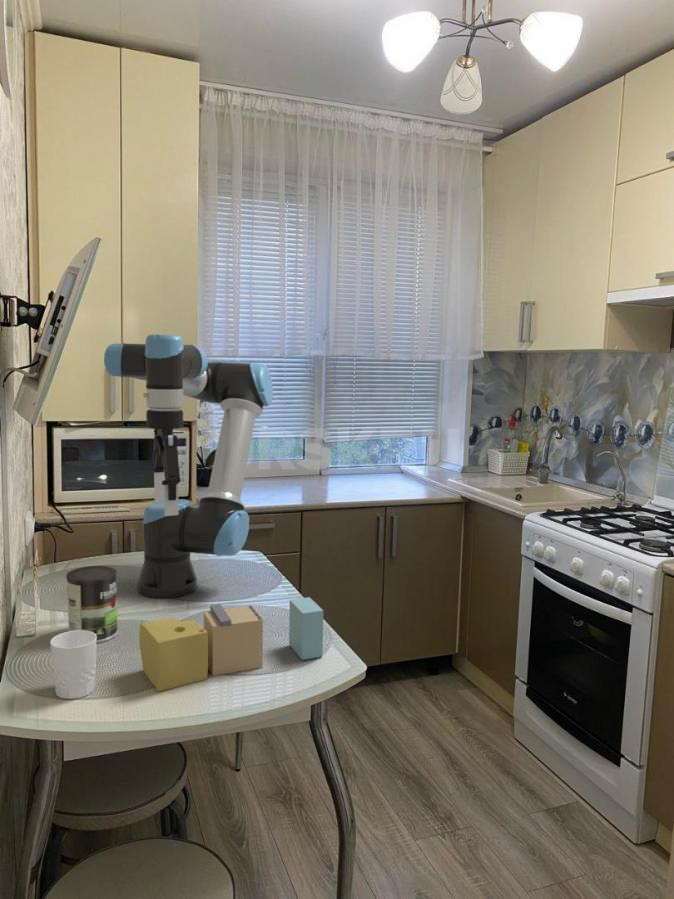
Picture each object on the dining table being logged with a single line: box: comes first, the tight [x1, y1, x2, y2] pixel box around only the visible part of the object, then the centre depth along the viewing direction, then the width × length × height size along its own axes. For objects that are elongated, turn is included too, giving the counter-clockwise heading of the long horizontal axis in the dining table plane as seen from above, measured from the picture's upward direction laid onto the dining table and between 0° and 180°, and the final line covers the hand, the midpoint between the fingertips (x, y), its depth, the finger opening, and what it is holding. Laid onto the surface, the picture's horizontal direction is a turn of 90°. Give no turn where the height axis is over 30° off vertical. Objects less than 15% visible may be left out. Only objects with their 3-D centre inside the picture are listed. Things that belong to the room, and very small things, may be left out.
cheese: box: [138, 617, 209, 692], centre depth 131 cm, size 10×11×10 cm
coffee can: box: [65, 565, 119, 644], centre depth 149 cm, size 10×10×14 cm
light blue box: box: [288, 596, 324, 661], centre depth 143 cm, size 8×4×10 cm, turn 23°
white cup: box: [50, 630, 98, 700], centre depth 124 cm, size 8×8×10 cm
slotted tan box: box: [203, 603, 264, 677], centre depth 137 cm, size 9×10×11 cm
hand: (166, 508), depth 146 cm, fingers open, 13 cm apart
